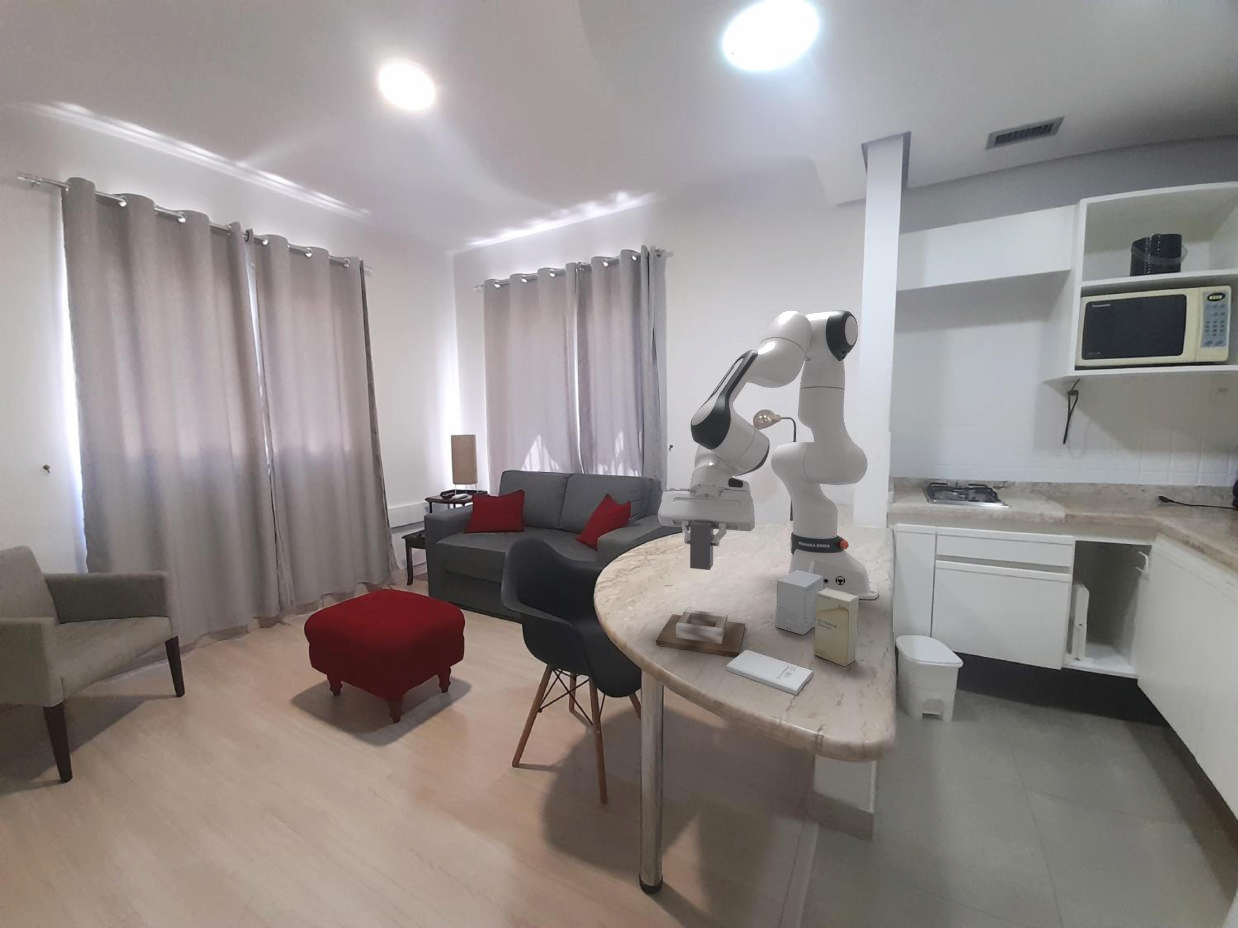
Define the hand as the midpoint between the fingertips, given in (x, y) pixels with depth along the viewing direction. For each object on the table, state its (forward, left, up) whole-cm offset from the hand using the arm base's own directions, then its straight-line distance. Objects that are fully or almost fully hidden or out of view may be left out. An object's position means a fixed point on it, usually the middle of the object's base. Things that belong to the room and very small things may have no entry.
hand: (701, 543), depth 96 cm
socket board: (0, -1, -20) cm, 20 cm away
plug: (0, -1, -5) cm, 5 cm away
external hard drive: (-14, +10, -20) cm, 27 cm away
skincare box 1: (-19, -14, -20) cm, 31 cm away
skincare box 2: (-25, 0, -20) cm, 32 cm away
